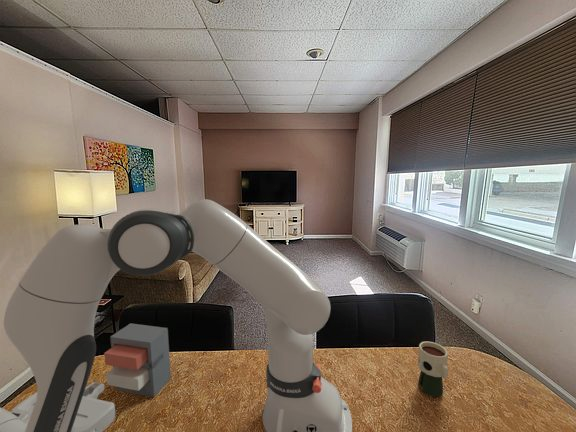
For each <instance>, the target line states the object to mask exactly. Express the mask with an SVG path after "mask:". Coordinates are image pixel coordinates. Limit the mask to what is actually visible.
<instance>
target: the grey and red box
mask: <svg viewBox="0 0 576 432" xmlns="http://www.w3.org/2000/svg"><path fill="white" fill-rule="evenodd" d="M116 344H121V345H127V346H134V347H141V348H147V351H148V361H147V362H145V363H144V364H143V365H142V366H141V367H143V368H149V377H150V380H149V381H148V382H147V383H146V384H145V385H144V386H143V387H142V388H141V389H140V390H139V391H137V390H132V389H126V388H121V387H116V386H114V388H115V389H114V390H116V391H121V392H125V393H131V394H135V395H141V396H146V397H152V398H156V396H157V395H158V394H159V393H160V391H161V390H162V389H163V388H164V387H165V386H166V385H167V383H168V382H169V381H170V380H171V378H172V377H171V376H172V375H171V374H172V373H171V363H170V361H171V360H170V344H169V329H168V327H161V326H155V325H154V326H153V325H145V324H139V323H138V324H137V323H129V324H128V325H126V326H125V327H122V328H121V329H119V330H118V331H117V332H115V333H114V334H112V335H110V346H111V348H112V347H113V346H115V345H116ZM111 348H110V349H111ZM114 367H115V366H112V368H114Z"/></svg>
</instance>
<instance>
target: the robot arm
mask: <svg viewBox="0 0 576 432" xmlns="http://www.w3.org/2000/svg"><path fill="white" fill-rule="evenodd" d="M191 252H192V253H194V254H196V255H199V256H200V257H201V258H203V259H204V260H205V261H207V262H208V263H210V264H211V265H212V266H214V267H215V268H216V269H217V270H219V271H220V272H222V273H223V274H225V275H226V276H227V277H229V278H231V279H232V281H233V282H236V283H237V284H239V286H240V287H242V288H243V289H244V290H245V291H246V292H248V294H250V295H251V296H252V297H253V298H254V299H255V300H256V301H257V302H258V303H260V304H261V305H262V306H263V314H264V320H265V325H266V333H267V345H268V346H267V353H268V358H267V361H268V362H267V365H266V370H265V371H266V375H265V376H266V377H265V379H266V388H267V393H266V400H265V405H264V408H263V412H262V423H263V427H264V429H265V432H353V420H352V414H351V411H350V408H349V405H348V404H347V402H346V401H345V400H344V399H343V398H341V395H340V392H339V390H338V388H337V387H336V386H335V385H334V384H332V383H331V382H329V381H328V380H326V378H324V377H322V371H321V364H320V362H318V366H316V364H315V363H314V362H313V359H314V357H313V355H314V338H313V334H315V333H317V332H319V331H320V330H321V329H322V328H324V327H325V325H326V323H327V322H328V320H329V318H330V315H331V308H332V307H331V301H330V299H329V298H328V296H327V295H326V293H325V291H324V290H323V289H322V287H321V286H320V285H319V284H318V283H317V282H316V281H315V280H314V279H313V278H311V276H310V275H308V274H307V273H306V272H304V271H303V270H302V269H301V268H300V267H298V266H297V265H296V264H295V263H294V262H292V261H291V260H290V259H289V258H288V257H286V256H285V255H284V254H283V253H281V252H280V251H279V250H278V249H277V248H275V247H274V246H273V245H272V244H271V243H269V242H268V241H267V240H266V239H265V238H264V237H263V236H262V235H261V234H259V233H258V232H257V231H255V229H253V228H252V227H251V226H250V225H249V224H247V223H246V222H245V221H244V220H243V219H241V218H240V217H239V216H238V215H236V214H235V213H234V212H232V211H230V210H229V209H228V208H226V207H224V206H223V205H221V204H219V203H217V202H216V201H214V200H212V199H206V198H205V199H200V200H197V201H195V202H193V203H191V204H190V205H189V206H188V207H186V208H185V209H184V211H182V212H180V213H177V214H176V213H175V214H174V213H170V212H166V211H164V210H161V209H157V208H149V207H148V208H141V209H137V210H134V211H132V212H130V213H129V214H126V215H125V216H123V217H121V218H120V219H119V220H118V221H117V222H116V223H115V224H114V225H113V227H112V228H103V227H98V226H95V225H91V224H71V225H68V226H65V227H62V228H61V229H59V230H58V231H57V232H55V234H54V235H53V236H52V237H51V238H50V239H49V240H48V241H47V243H46V244H45V245H44V246H43V247H42V249H41V250H40V251H39V253H38V254H37V255H36V256H35V257H34V258H33V261H32V262H31V263H30V265H29V266H28V268H27V269H26V270H25V272H24V274H23V276H22V277H21V278H20V281H19V282H18V284H17V285H16V288H15V290H14V291H13V292H12V294H11V296H10V298H9V300H8V302H7V305H6V309H5V312H4V318H3V329H4V331H5V334H6V335H7V338H8V339H9V341H10V342H11V344H13V346H14V347H15V348H16V349H17V350H18V352H19V353H20V354H21V355H22V358H23V359H24V360H25V361H26V363H27V365H28V366H29V368H30V371H31V372H32V375H33V376H34V379H35V382H36V390H37V391H35V393H33V394H31V395H30V396H28V397H26V398H25V399H24V400H22V401H20V403H17V404H16V405H15V406H14V407H13V408H12V410H10V411H9V410H7V409H5V408H3V407H0V432H104V431H105V430H106V429H107V428H108V427H109V426H110V425H111V424H112V423H113V422H114V421H115V418H116V405H115V403H114V402H112V401H108V400H107V401H106V400H102V399H99V398H98V397H99V395H100V394H102V393H103V392H104V391H105V384H104V383H100V382H95V381H93V382H90V384H88V381H89V378H90V375H91V372H92V368H93V367H94V363H95V358H96V353H97V343H96V340H95V339H96V338H95V320H96V314H97V312H98V311H97V310H98V308H99V304H100V301H101V300H102V297H103V296H104V294H105V292H106V290H107V288H108V285H109V284H110V282H111V281H112V278H113V277H114V276H115V275H116V274H117V272H119V271H120V270H121V271H123V272H124V273H126V274H129V275H132V276H139V277H145V276H146V277H148V276H152V275H153V276H154V275H156V274H159V273H161V272H163V271H165V270H166V269H167V270H168V269H169V268H170V267H171V266H173V265H174V264H176V263H178V261H180V260H182V259H183V258H185V257H187V256H188V255H189V254H191ZM87 384H88V385H87Z"/></svg>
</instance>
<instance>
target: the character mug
mask: <svg viewBox="0 0 576 432" xmlns="http://www.w3.org/2000/svg"><path fill="white" fill-rule="evenodd" d="M417 351H418V352H417V353H418V358H417V365H418V366H417V367H418V368H419V371H420V373H419V378H418V382H417V387H418V389H420V387H421V392H422V393H423V394H424V395H426V396H428V397H430V398H439V397H442V396H443V393H444V384H443V379H446V380H447V379H448V377H449V368H448V360H449V352H448V350H447V349H446V347H444V346H442V345H441V344H439V343H436V342H433V341H421V342H420V343H419V344H418V350H417Z"/></svg>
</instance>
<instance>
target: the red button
mask: <svg viewBox="0 0 576 432" xmlns="http://www.w3.org/2000/svg"><path fill="white" fill-rule="evenodd" d="M103 355H104V365H105V366H111V367H113V366H116V367H121V368H127V369H133V370H138V369H139V368H140V367H141V366H142V365H143V364H144V363H145V362H147V361H148V351H147V348H141V347H134V346H127V345H121V344H116V345H115V346H113V347H112V348H109V349H108V350H107V351H105V352H104V353H103Z"/></svg>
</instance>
